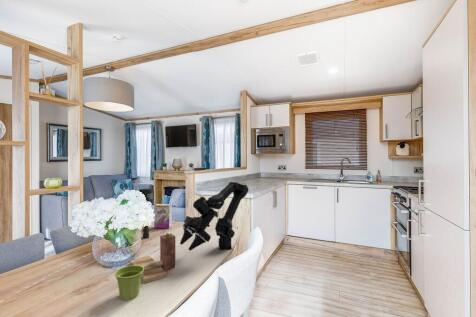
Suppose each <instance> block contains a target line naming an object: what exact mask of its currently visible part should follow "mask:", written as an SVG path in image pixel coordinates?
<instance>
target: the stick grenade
mask: <svg viewBox="0 0 476 317" xmlns="http://www.w3.org/2000/svg"><path fill="white" fill-rule="evenodd" d="M153 190H154V189H153V188H150V187H148V188H139V189H138V192H139V191H140V192H142V193H143V194H144V195H145V197H146V200H147V201H150V202H151V203H152V204H153V205H154V199H153V196H154V194H153V193H154V192H153ZM152 204H151V205H152ZM142 230H143V231H142V238H143V239H149V238H150V230H149V225H148V226H145V227H144V226H143V229H142Z"/></svg>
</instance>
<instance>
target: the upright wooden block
mask: <svg viewBox="0 0 476 317" xmlns="http://www.w3.org/2000/svg"><path fill="white" fill-rule="evenodd" d="M159 240H160V241H159V242H160V243H159V248H160V249H159V252H160V253H159V258H160V260H157V261H155V262H154V263H150V264H146V265H143V266H142V267H144V270H146V269H150V268H153V267H157V266H160V267H162V268H163V269H164V270H165V271H166V272H167V271H169V270H173V269H175V268H176V235H174V234H173V233H169V232H167V233H166V234H160V238H159Z"/></svg>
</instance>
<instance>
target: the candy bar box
mask: <svg viewBox="0 0 476 317" xmlns="http://www.w3.org/2000/svg"><path fill="white" fill-rule="evenodd" d="M153 205H154V212H155V221H154V222H153V223H154V225H153V226H154V227H153V228H154V229H165V228H169V229H171V228H172V227H171V226H173V225H172V224H173V222H172V221H173V219H172V218H173V214H172V212H173V211H172V210H173V205H172V203H170V204H169V203H156V204H153ZM154 212H153V213H154ZM170 227H171V228H170Z"/></svg>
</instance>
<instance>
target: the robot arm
mask: <svg viewBox="0 0 476 317" xmlns="http://www.w3.org/2000/svg"><path fill="white" fill-rule="evenodd" d="M248 193H249V187H248V185H247V184H242V183H239V182H237V181H236V182H235V181H230V182H228V184H227V185H226V186H225V187H223V189H221V191H219V193H217V194H214V195H211V196H210V197H208V198H207V199H206V197H205V196H200V197H199V198H198V199H196V200H195V201H194V202H193V205H192V206H193V208H194V209H195V210H196V211H197V213H199V214H200V216H197V217H196V216H193V217H191V216H188V215H186V216H185V219H184V221H183V222H184V223H183V224H182V229H183V234H182V237H181V239H180V242H179V245H180V246H181V245H183V244H184V243H186V242H187V241H189V239H190V238H192V237H193V236H194V239H193V240H192V243H191V244H190V245H189V247H188V250H189V251H192V250H194V249H196V248H198V247H199V246H201V245H203V244H206V243H209V241H210V240H211V235H210V234H209V233H208V232H207V231H206V229H207V228H209V227H211V224H210V223H211V222H212V221H213V219H214V217H215V218H218V217H219V214H218V213H219V212H218V211H216V210H221V209H222V207H223V206H224V205H225V201H226V200H227V199H228V197H229V196H231V195H232V194H233V196H232V198H231V201H230V202H229V204H228V207H227V209H226V212H224V215H223V217H222V218H221V217H219V218H218V219H217V222H216V223H215V228H214V229H215V230H214V231H215V233H216V236H217V237H219V238H218V248H219V250H232V248H233V247H232V238H234V237H235V231H234V230H233V219H234V217H235V214H236V212H237V210H238V208H239V205H240V203H241V201H242V200H243V199H244V198H245V197H246V196H247V194H248Z"/></svg>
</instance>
